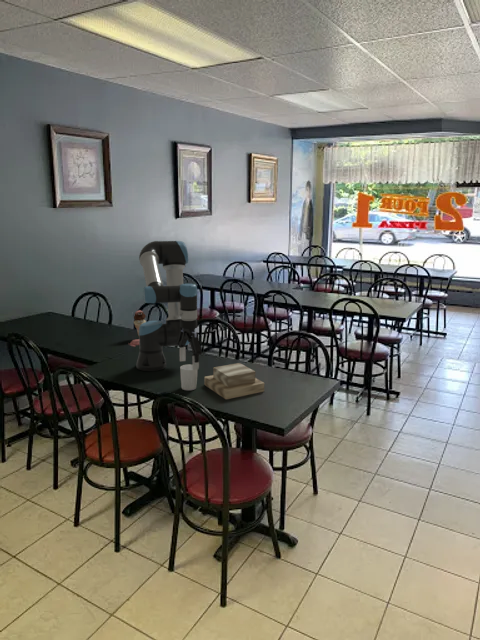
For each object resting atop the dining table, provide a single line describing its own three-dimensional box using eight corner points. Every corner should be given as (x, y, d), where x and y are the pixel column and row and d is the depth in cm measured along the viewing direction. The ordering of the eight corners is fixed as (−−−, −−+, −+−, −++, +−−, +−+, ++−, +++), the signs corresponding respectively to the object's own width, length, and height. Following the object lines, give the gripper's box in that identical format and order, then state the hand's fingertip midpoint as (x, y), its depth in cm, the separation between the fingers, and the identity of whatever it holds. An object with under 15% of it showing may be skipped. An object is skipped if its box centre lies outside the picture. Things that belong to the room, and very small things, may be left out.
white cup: (200, 385, 231) (200, 365, 229) (193, 391, 224) (193, 370, 222) (184, 384, 234) (184, 363, 231) (177, 389, 226) (177, 368, 224)
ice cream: (143, 336, 312) (142, 308, 308) (157, 342, 300) (156, 313, 296) (119, 341, 302) (117, 311, 298) (132, 347, 290) (131, 317, 285)
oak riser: (204, 384, 233) (204, 366, 231) (241, 377, 243) (241, 360, 241) (225, 399, 216) (226, 379, 214) (264, 391, 226) (264, 372, 224)
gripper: (169, 314, 230) (170, 359, 234) (193, 325, 209) (193, 374, 214) (184, 313, 234) (184, 356, 238) (209, 323, 213) (209, 371, 217)
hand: (189, 365), depth 226 cm, fingers open, 13 cm apart
